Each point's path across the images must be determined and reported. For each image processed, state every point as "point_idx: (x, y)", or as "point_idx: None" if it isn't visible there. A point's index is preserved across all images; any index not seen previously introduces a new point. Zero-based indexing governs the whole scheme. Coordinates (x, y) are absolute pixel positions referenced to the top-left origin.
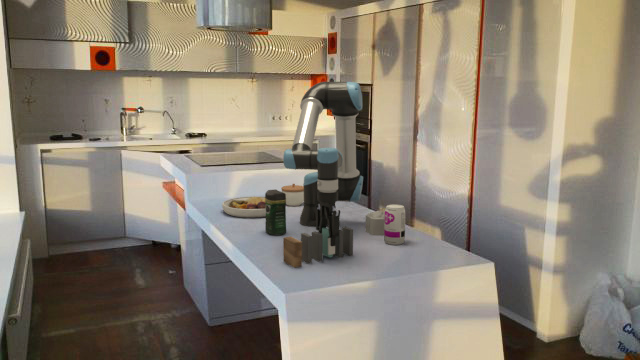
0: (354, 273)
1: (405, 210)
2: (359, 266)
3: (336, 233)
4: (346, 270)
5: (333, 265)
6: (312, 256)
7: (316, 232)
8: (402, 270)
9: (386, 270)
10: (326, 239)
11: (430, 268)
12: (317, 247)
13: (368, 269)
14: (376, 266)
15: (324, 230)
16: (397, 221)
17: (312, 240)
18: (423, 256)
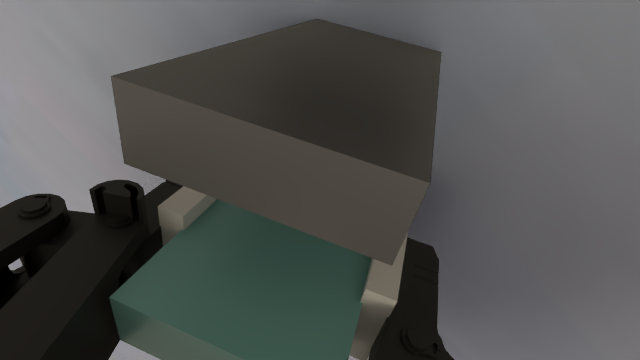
0: (3, 8)
1: None
2: (102, 134)
3: (26, 266)
4: (61, 15)
5: (178, 33)
6: (423, 50)
7: (299, 203)
8: (10, 201)
9: (20, 164)
10: (264, 223)
11: (14, 265)
12: (285, 42)
13: (48, 124)
14: (78, 185)
15: (262, 337)
16: None
17: (408, 100)
18: (124, 352)
